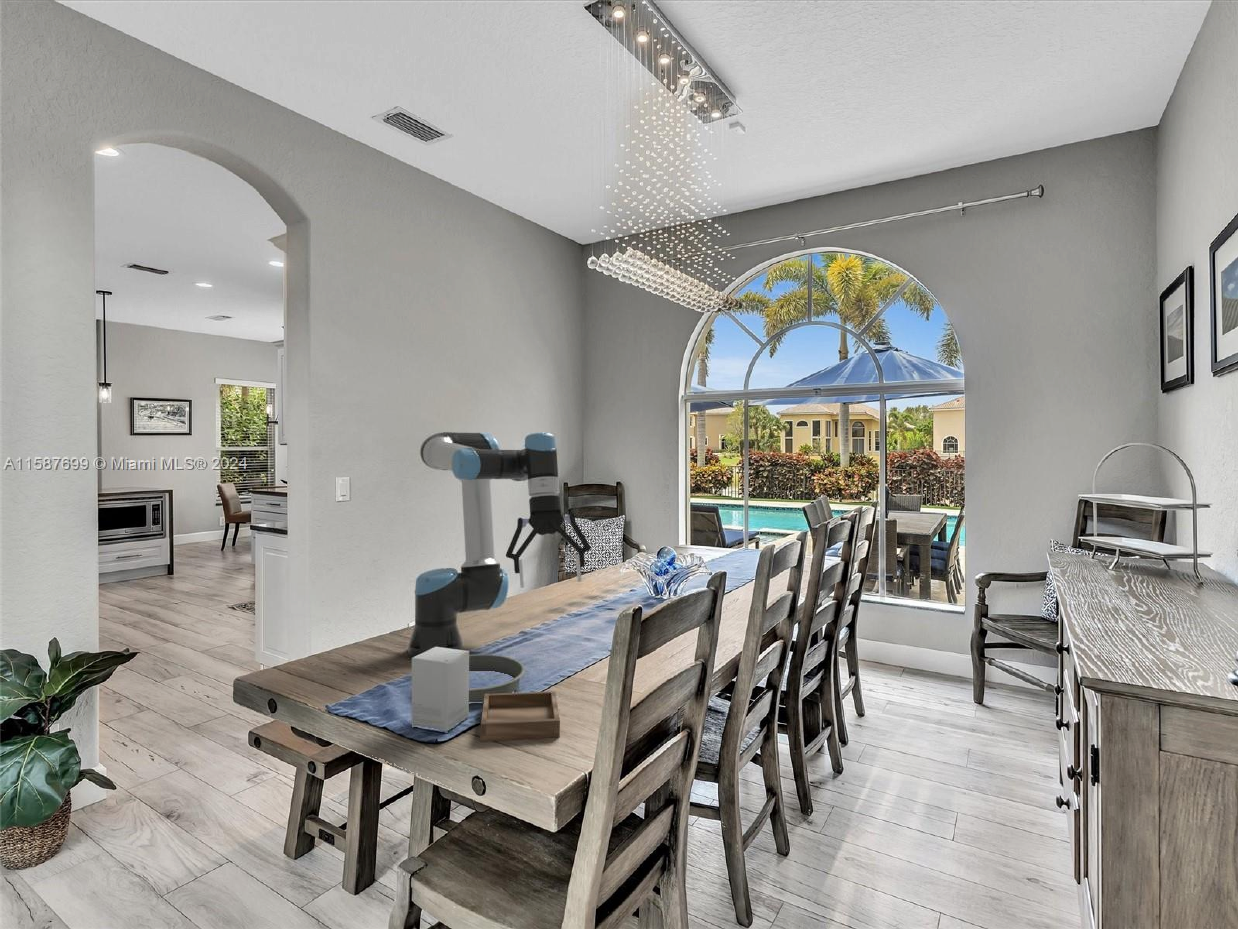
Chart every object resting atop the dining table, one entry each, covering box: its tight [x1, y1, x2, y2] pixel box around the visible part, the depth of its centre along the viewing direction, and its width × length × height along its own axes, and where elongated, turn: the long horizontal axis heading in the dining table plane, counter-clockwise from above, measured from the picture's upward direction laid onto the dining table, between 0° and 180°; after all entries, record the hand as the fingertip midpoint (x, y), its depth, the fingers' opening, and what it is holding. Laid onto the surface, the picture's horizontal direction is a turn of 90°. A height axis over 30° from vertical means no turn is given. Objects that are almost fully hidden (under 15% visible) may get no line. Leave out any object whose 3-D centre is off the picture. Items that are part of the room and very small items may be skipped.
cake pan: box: [469, 653, 526, 702], centre depth 158 cm, size 25×25×4 cm
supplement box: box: [410, 647, 470, 731], centre depth 137 cm, size 9×9×15 cm
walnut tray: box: [480, 690, 561, 742], centre depth 138 cm, size 16×16×4 cm
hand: (551, 584), depth 151 cm, fingers open, 13 cm apart
